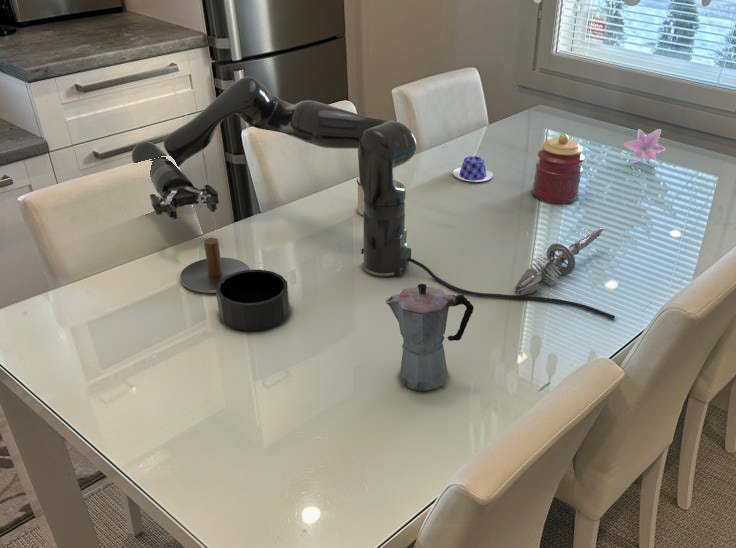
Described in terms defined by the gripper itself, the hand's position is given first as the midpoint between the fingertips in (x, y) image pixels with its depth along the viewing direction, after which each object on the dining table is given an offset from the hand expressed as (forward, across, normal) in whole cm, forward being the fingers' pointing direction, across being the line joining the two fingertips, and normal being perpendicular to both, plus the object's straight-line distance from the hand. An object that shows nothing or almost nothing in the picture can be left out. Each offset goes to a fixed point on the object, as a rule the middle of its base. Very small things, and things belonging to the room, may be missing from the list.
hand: (194, 211), depth 162 cm
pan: (+28, +2, +12) cm, 30 cm away
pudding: (-14, +86, +12) cm, 88 cm away
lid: (+10, 0, +11) cm, 15 cm away
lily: (0, +144, +12) cm, 145 cm away
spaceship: (+44, +71, +12) cm, 84 cm away
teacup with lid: (-6, +50, +12) cm, 51 cm away
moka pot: (+63, +22, +12) cm, 68 cm away
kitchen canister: (+8, +100, +12) cm, 101 cm away
